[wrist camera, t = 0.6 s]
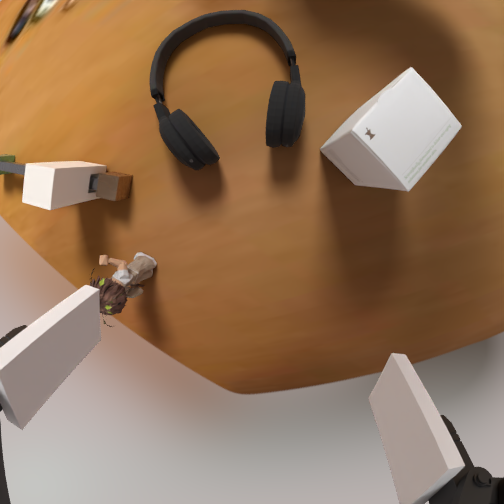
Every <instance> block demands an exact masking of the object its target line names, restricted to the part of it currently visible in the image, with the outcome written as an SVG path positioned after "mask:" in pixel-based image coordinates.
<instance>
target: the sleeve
mask: <svg viewBox="0 0 504 504" xmlns="http://www.w3.org/2000/svg"><path fill="white" fill-rule="evenodd" d="M106 168H107V166H106V165H100V164H94V163H88V162H82V161H64V162H44V163H28V164H26V167H25V176H24V186H23V199H22V202H23V203H27V204H30V205H34V206H37V207H41V208H44V209H48V210H53V209H57V208H61V207H65V206H69V205H73V204H77V203H81V202H85V201H90V200H94V199H99V197H96V192H97V190H93V189H89V182H90V176H93V177H98V178H99V173H105V172H106Z"/></svg>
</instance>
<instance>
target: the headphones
mask: <svg viewBox="0 0 504 504" xmlns="http://www.w3.org/2000/svg"><path fill="white" fill-rule="evenodd" d="M224 24H248V25H252V26H256V27H259V28H260V29H262V30H264V31H266V32H268V33H269V34H270V35H271V36H272V37H273V38H274V39H275V40H276V41H277V43H278V44H279V45H280V47H281V48H282V50H283V52H284V54H285V56H286V59H287V61H288V65H289V66H290V77H291V84H290V85H289V83H288V82H286V81H275V82H274V84H273V87H272V90H271V94H270V99H269V105H268V112H267V120H266V145H267V146H270V147H273V148H274V147H279V146H280V145H281V144H282V146H285V147H292V146H293V144H294V142H295V141H297V139H298V138H299V136H300V133H301V129H302V125H303V121H304V117H305V93H304V90H303V88H302V87H301V81H300V74H299V68H298V65H296V55H295V52H294V49H293V47H292V44H291V42H290V41H289V39H288V37H287V36H286V35H285V33H284V32H283V31H282V30H281V29H280V28H279V26H277V25H276V24H275V23H274V22H273V21H272V20H271V19H269V18H267V17H265V16H263V15H261V14H259V13H255V12H251V11H246V10H229V11H219V12H214V13H209V14H205V15H202V16H200V17H197V18H195V19H193V20H191V21H189V22H187V23H185V24H184V25H182V26H180V27H179V28H177V29H175V30H174V31H172V32H171V33H170V34H169V35H168V36H167V37H166V38H165V39H164V41H163V42H162V43H161V45H160V46H159V48H158V49H157V51H156V53H155V56H154V59H153V62H152V66H151V72H150V90H151V96H152V97H153V98H154V99H155V100H156V102H157V104H155V105H154V108H155V111H156V114H157V117H158V120H159V130H160V134H161V137H162V139H163V141H164V142H165V144H166V145H167V147H168V148H169V150H170V151H171V152H172V153H173V154H174V156H175V157H176V158H177V159H178V160H179V161H180V162H181V163H183V164H184V165H186V166H188V167H190V168H193V169H194V170H199V169H202V168H203V167H204V166H205V164H208V165H211V164H214V163H216V162H217V161H218V160H219V158H220V157H219V155H218V153H217V151H216V150H215V148H214V147H213V146H212V144H211V143H210V142H209V140H208V139H207V138H206V137H205V135H204V134H203V133H202V132H201V130H200V129H199V128H198V127H197V126H196V125H195V123H194V122H193V121H192V120H191V119H190V118H189V117H188V116H187V115H186V114H185V113H184V112H183V111H182V110H180V109H178V110H176V111H174V112H173V113H172V114H170V112H169V110H168V109H167V108H166V107H165V106H164V105H163V104H162V102H163V101H165V99H164V93H163V76H164V70H165V67H166V63H167V60H168V59H169V57H170V55H171V54H172V52H173V51H174V50H175V49H176V47H177V46H178V45H179V44H180V43H181V42H183V41H184V40H186V39H187V38H189V37H191V36H192V35H194V34H196V33H197V32H199V31H202V30H204V29H206V28H209V27H213V26H218V25H224Z"/></svg>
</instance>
